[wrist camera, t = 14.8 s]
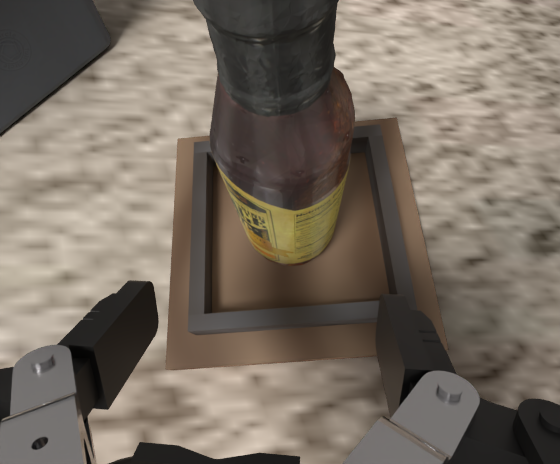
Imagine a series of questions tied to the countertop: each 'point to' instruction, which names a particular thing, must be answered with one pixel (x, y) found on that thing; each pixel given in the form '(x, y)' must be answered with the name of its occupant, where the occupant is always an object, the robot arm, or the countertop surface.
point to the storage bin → (43, 49)
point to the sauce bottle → (280, 121)
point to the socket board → (294, 279)
